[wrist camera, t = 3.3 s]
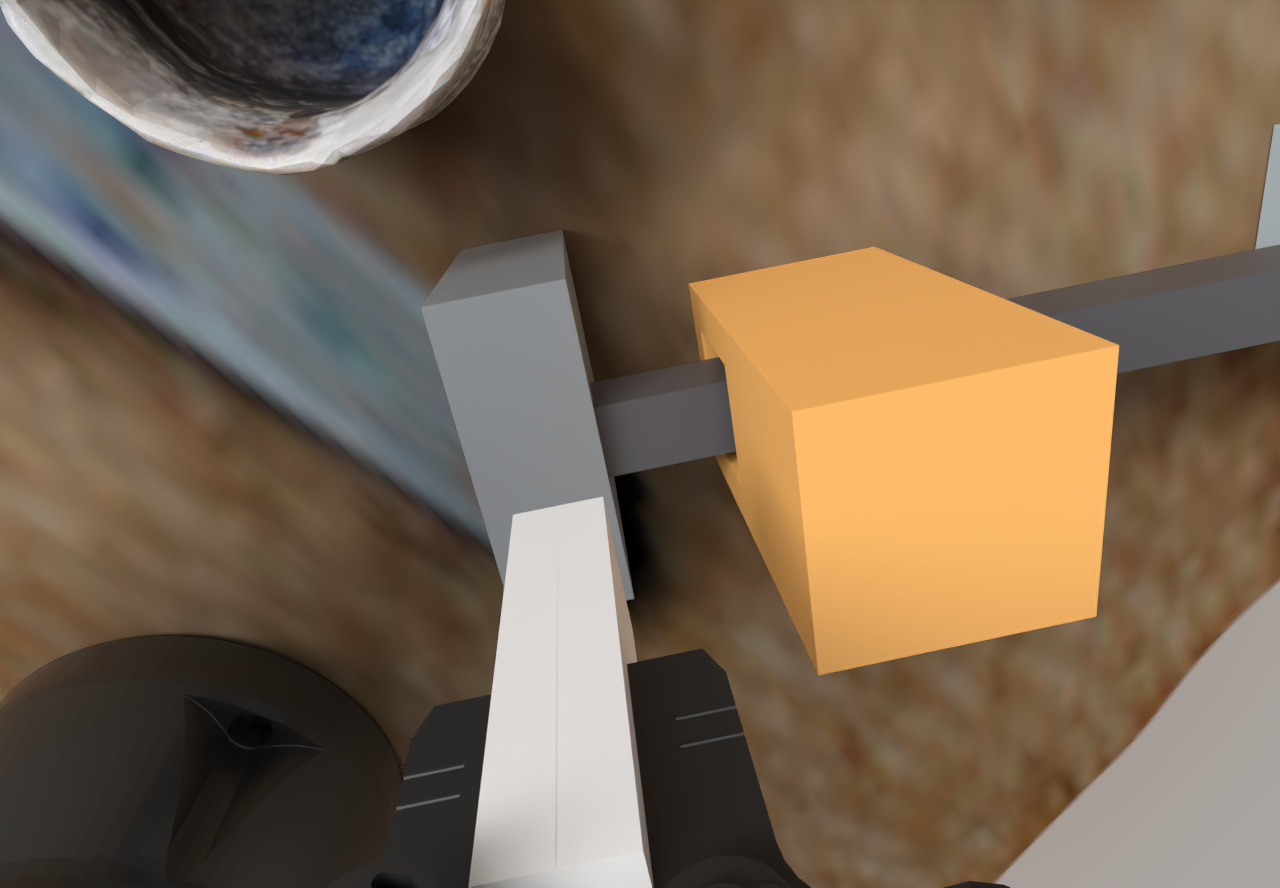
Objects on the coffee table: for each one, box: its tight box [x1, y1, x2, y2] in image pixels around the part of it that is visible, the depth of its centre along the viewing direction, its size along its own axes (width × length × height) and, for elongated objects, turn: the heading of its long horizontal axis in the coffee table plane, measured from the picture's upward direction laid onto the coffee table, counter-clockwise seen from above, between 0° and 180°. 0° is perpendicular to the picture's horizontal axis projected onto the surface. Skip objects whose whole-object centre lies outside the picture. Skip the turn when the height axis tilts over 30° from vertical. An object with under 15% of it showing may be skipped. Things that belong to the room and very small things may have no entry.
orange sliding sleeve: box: [689, 247, 1119, 675], centre depth 17 cm, size 5×5×10 cm
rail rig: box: [421, 124, 1280, 600], centre depth 20 cm, size 29×8×9 cm, turn 100°
